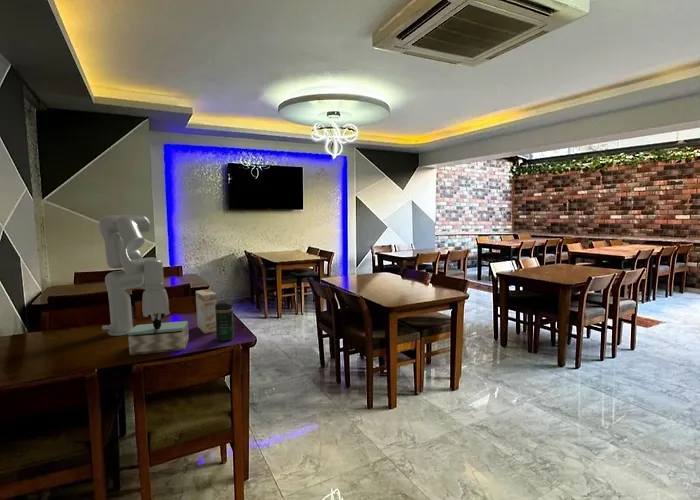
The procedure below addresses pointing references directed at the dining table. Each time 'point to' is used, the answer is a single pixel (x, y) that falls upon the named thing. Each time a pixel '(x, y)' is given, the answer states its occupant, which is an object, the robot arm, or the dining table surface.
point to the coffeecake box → (206, 310)
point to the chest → (158, 342)
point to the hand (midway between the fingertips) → (157, 328)
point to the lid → (164, 328)
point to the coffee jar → (224, 320)
